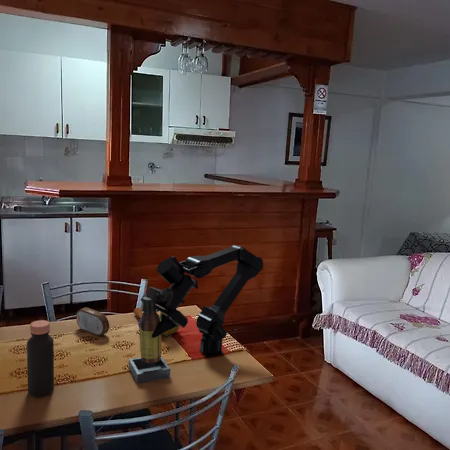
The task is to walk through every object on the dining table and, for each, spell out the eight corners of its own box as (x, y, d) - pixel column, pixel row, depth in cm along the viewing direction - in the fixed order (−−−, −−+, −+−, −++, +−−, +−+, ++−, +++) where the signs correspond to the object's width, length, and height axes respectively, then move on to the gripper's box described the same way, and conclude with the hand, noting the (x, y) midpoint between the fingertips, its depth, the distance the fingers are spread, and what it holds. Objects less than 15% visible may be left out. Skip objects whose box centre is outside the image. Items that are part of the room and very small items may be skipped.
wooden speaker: (109, 336, 168) (110, 314, 167) (103, 339, 166) (103, 316, 164) (81, 325, 176) (81, 304, 175) (74, 328, 173) (74, 306, 172)
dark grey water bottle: (28, 399, 126) (26, 329, 122) (27, 387, 132) (26, 320, 128) (54, 395, 129) (54, 326, 125) (53, 383, 135) (52, 317, 131)
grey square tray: (159, 363, 150) (160, 354, 150) (170, 377, 141) (170, 368, 141) (128, 368, 146) (128, 359, 146) (137, 383, 137) (137, 374, 137)
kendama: (146, 305, 191) (157, 319, 172) (143, 319, 191) (154, 335, 172) (131, 303, 188) (141, 318, 170) (129, 318, 188) (138, 334, 170)
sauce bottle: (150, 353, 147) (150, 292, 144) (165, 358, 144) (165, 296, 141) (135, 360, 142) (134, 297, 139) (150, 366, 138) (150, 301, 135)
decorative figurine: (159, 327, 179) (161, 289, 176) (181, 328, 178) (182, 291, 176) (154, 337, 169) (155, 297, 167) (176, 339, 169) (178, 299, 166)
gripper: (146, 269, 148) (114, 310, 143) (180, 285, 134) (147, 330, 129) (166, 289, 154) (136, 328, 149) (201, 305, 141) (170, 349, 136)
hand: (146, 333), depth 141 cm, fingers closed on sauce bottle, 6 cm apart
